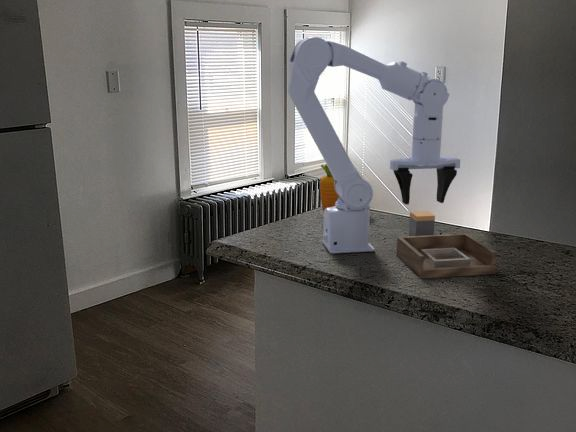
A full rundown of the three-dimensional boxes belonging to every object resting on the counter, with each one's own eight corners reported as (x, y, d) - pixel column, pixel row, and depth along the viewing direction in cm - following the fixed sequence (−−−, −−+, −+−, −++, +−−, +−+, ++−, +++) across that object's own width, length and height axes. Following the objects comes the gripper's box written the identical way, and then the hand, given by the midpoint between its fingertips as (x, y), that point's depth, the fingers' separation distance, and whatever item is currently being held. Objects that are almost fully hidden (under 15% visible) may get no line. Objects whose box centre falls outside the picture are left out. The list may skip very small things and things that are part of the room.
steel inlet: (434, 268, 116) (434, 261, 116) (420, 256, 123) (420, 249, 123) (470, 266, 117) (470, 259, 117) (454, 254, 124) (454, 247, 124)
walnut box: (420, 278, 113) (421, 257, 112) (396, 255, 125) (397, 236, 124) (496, 273, 115) (498, 253, 114) (465, 251, 128) (467, 233, 127)
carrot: (325, 225, 147) (327, 163, 143) (315, 220, 151) (316, 160, 147) (343, 223, 149) (345, 161, 145) (332, 218, 153) (334, 158, 149)
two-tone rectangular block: (414, 248, 130) (416, 216, 128) (408, 242, 134) (409, 211, 132) (432, 247, 131) (435, 215, 129) (425, 241, 135) (427, 210, 133)
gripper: (399, 141, 121) (396, 208, 125) (468, 140, 124) (463, 205, 127) (388, 136, 128) (385, 200, 132) (453, 135, 130) (449, 197, 134)
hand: (422, 202), depth 130 cm, fingers open, 7 cm apart
